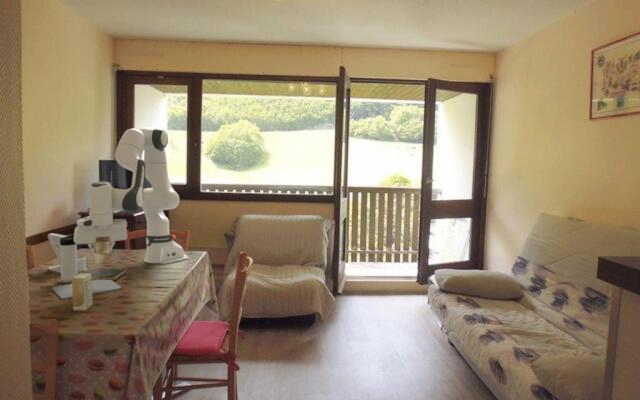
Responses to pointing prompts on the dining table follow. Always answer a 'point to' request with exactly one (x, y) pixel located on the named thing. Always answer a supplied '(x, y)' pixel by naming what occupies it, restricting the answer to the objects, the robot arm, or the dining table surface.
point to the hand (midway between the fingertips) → (101, 252)
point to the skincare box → (82, 291)
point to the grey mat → (97, 287)
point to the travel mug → (68, 259)
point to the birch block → (102, 250)
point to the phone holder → (55, 240)
